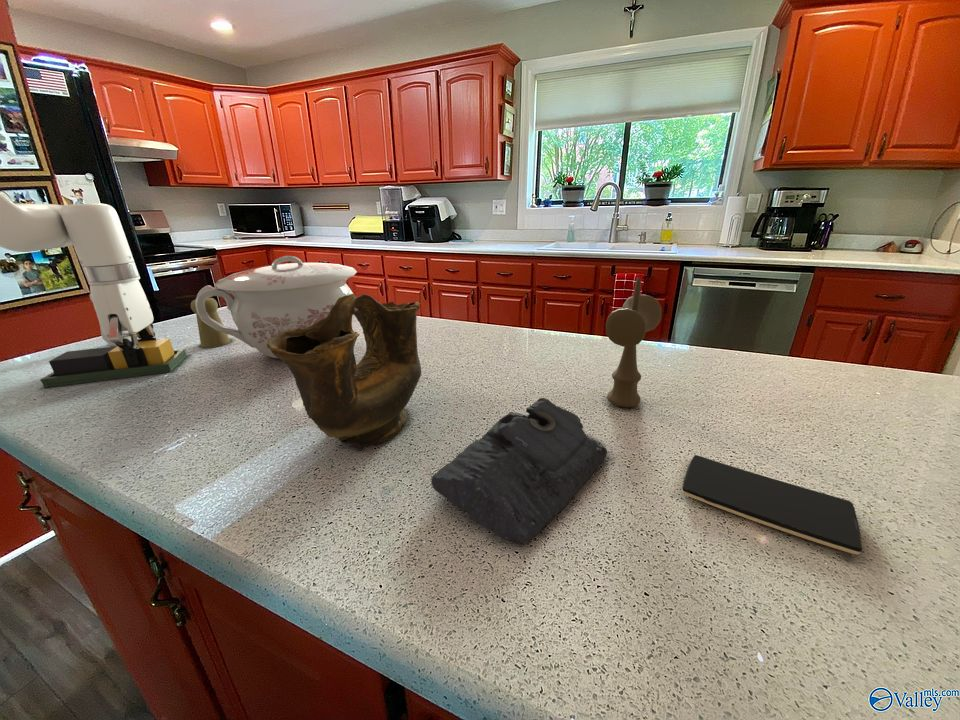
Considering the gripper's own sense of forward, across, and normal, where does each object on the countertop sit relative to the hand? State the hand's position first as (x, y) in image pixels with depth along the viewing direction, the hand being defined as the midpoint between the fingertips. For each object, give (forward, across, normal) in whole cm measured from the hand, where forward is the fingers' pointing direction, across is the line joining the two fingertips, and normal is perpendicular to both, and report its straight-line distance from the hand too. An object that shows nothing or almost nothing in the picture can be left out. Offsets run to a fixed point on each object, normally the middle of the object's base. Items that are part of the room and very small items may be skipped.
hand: (145, 360), depth 82 cm
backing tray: (+1, 0, -5) cm, 5 cm away
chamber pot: (+2, 0, +30) cm, 30 cm away
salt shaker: (+2, -21, -14) cm, 25 cm away
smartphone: (+1, +70, +82) cm, 108 cm away
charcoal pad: (+1, 0, -9) cm, 9 cm away
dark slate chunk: (+2, +56, +60) cm, 82 cm away
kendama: (+2, +46, +82) cm, 94 cm away
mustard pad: (0, 0, 0) cm, 0 cm away
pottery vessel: (+2, +40, +43) cm, 59 cm away
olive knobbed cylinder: (+2, -12, +9) cm, 15 cm away
